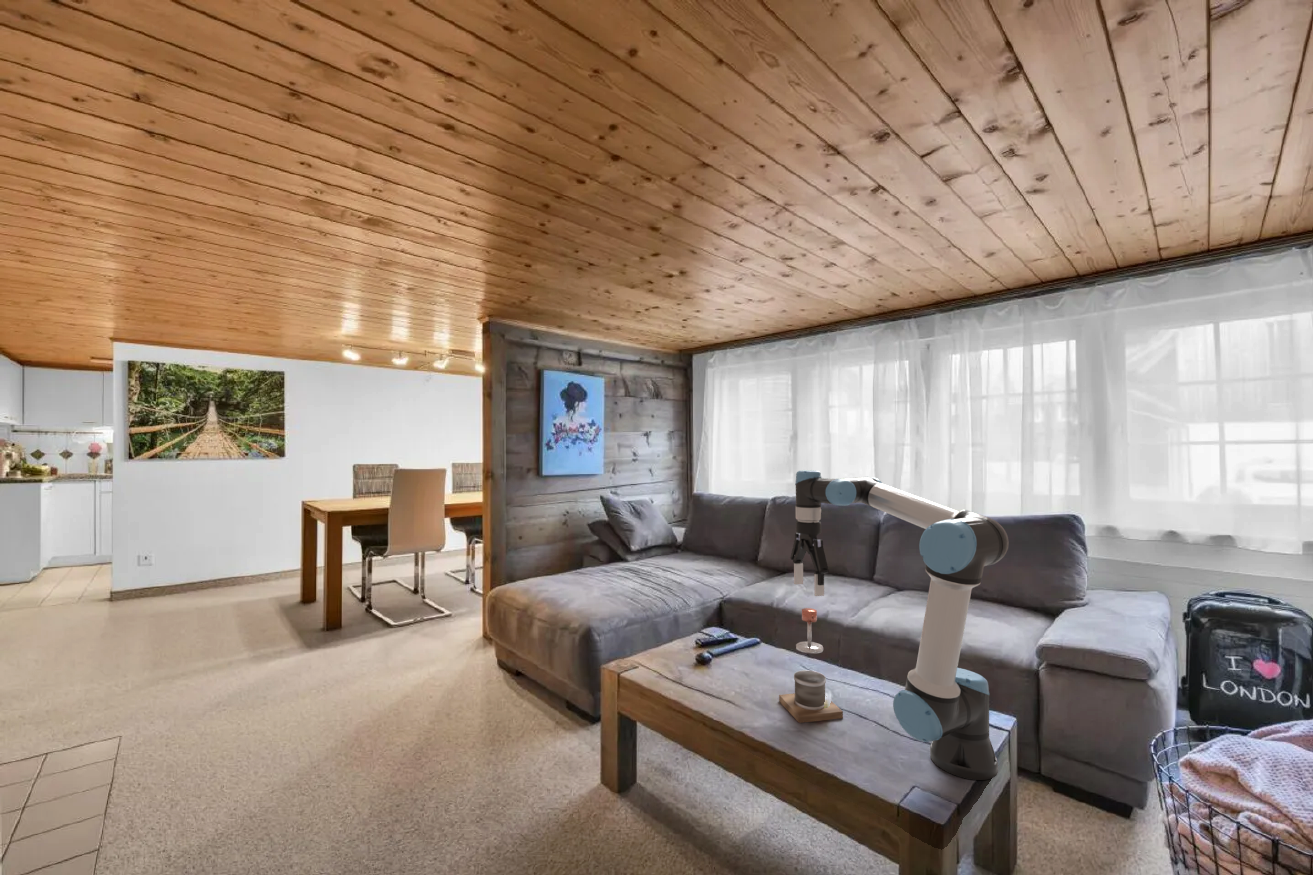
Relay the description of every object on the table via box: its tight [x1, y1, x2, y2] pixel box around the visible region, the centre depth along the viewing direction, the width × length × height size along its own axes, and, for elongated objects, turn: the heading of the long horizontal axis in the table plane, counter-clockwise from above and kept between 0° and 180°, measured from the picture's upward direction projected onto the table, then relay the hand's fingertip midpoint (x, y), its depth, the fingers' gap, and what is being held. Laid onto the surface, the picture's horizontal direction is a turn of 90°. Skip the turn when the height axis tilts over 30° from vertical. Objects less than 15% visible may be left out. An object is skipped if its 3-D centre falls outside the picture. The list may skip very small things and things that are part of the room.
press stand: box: [778, 669, 844, 724], centre depth 169 cm, size 14×14×10 cm
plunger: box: [795, 607, 824, 655], centre depth 170 cm, size 8×8×12 cm
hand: (808, 589), depth 170 cm, fingers open, 13 cm apart
